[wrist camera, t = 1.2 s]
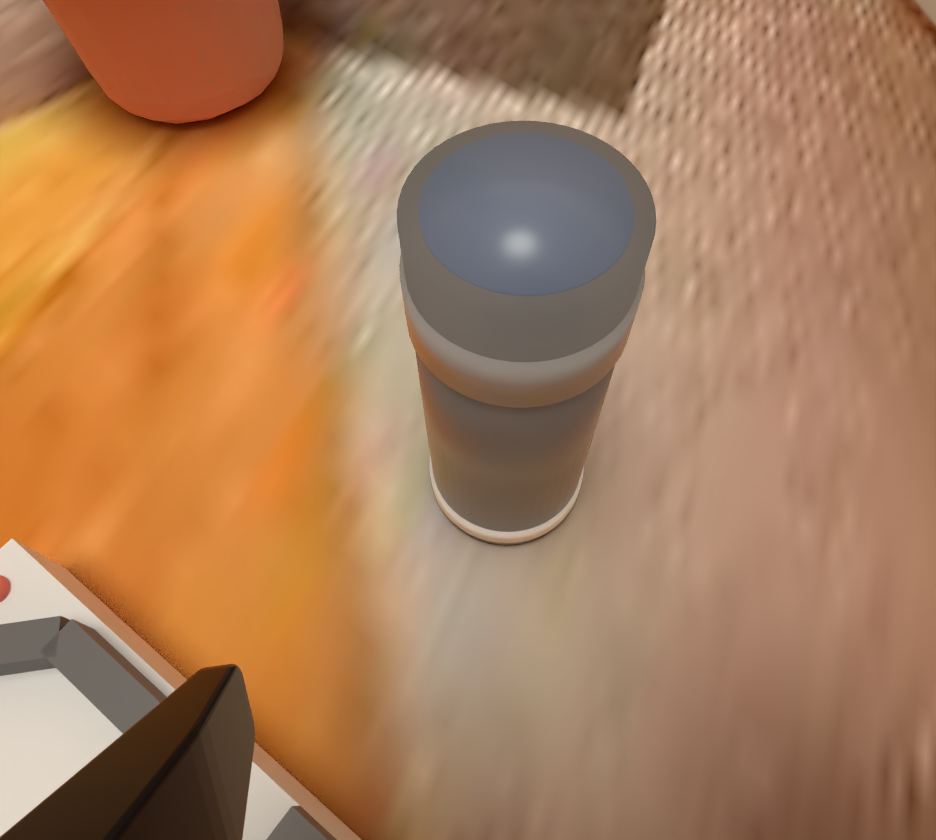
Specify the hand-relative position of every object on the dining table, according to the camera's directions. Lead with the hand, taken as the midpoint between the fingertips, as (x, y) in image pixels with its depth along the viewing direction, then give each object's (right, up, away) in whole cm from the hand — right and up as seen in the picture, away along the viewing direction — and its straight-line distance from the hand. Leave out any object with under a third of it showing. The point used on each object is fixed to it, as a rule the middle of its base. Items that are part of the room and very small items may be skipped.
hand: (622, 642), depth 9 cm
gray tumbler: (-1, +1, +16) cm, 16 cm away
